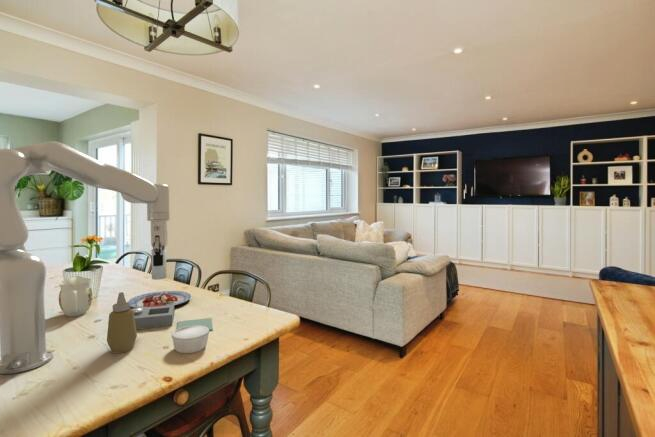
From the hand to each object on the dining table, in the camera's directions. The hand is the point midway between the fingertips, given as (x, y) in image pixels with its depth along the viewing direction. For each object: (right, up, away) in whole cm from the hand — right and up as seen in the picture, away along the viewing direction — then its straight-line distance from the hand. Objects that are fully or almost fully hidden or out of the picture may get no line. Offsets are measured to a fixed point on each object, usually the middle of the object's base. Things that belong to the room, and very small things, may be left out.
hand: (159, 263), depth 128 cm
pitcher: (-37, -22, +8) cm, 44 cm away
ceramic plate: (-11, -21, +24) cm, 34 cm away
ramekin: (+20, -24, -20) cm, 38 cm away
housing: (-3, -22, 0) cm, 23 cm away
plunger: (-8, -21, -1) cm, 23 cm away
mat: (+15, -23, -3) cm, 27 cm away
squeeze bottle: (0, -24, -23) cm, 33 cm away
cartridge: (0, -5, 0) cm, 5 cm away
